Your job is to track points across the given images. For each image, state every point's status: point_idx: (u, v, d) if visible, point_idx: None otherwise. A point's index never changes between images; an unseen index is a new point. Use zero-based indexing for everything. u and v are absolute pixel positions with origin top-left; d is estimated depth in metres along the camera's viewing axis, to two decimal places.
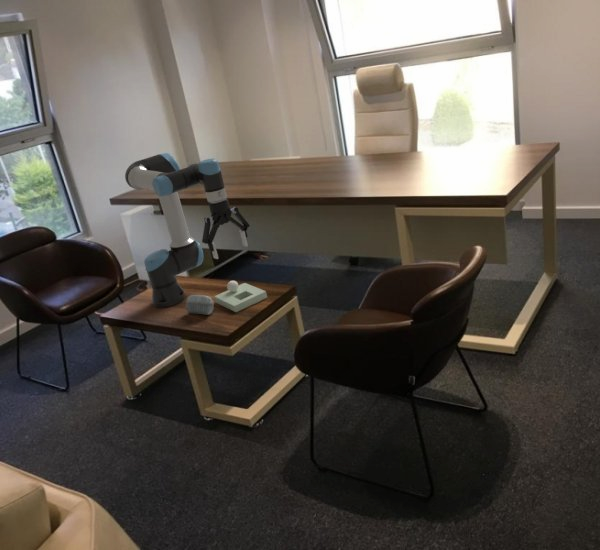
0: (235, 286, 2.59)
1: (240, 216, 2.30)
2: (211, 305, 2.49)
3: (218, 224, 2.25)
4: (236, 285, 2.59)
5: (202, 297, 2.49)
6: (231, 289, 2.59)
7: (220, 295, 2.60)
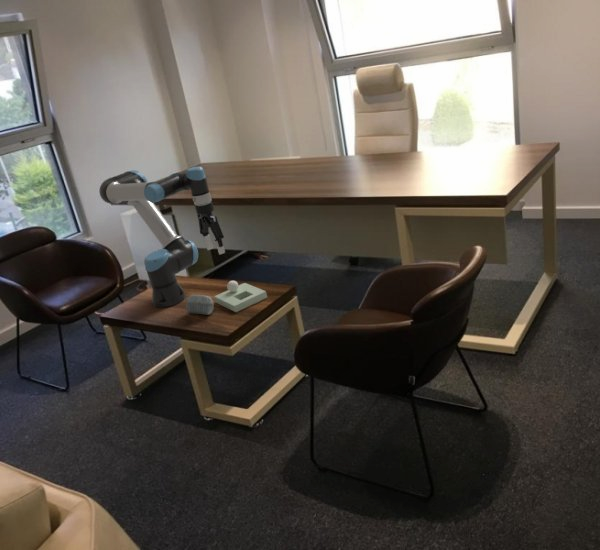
0: (235, 286, 2.59)
1: (213, 226, 2.50)
2: (211, 305, 2.49)
3: (202, 223, 2.57)
4: (236, 285, 2.59)
5: (202, 297, 2.49)
6: (231, 289, 2.59)
7: (220, 295, 2.60)
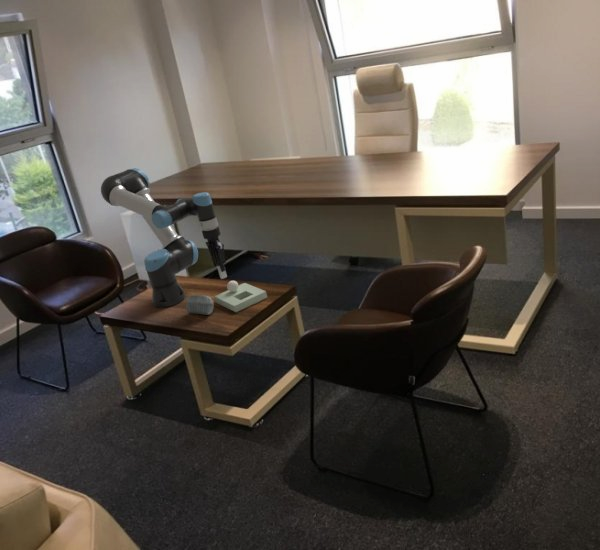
0: (235, 286, 2.59)
1: (218, 253, 2.57)
2: (211, 305, 2.49)
3: (210, 248, 2.61)
4: (236, 285, 2.59)
5: (202, 297, 2.49)
6: (231, 289, 2.59)
7: (220, 295, 2.60)
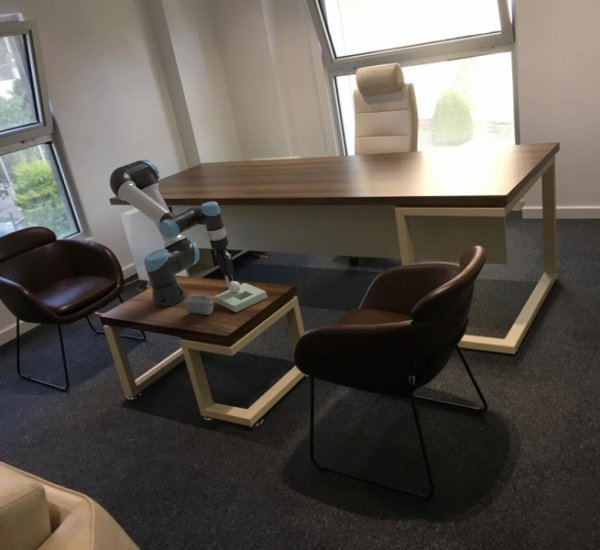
0: (238, 289, 2.58)
1: (226, 263, 2.54)
2: (211, 305, 2.49)
3: (218, 258, 2.58)
4: (239, 289, 2.58)
5: (202, 297, 2.49)
6: (233, 291, 2.58)
7: (220, 295, 2.60)
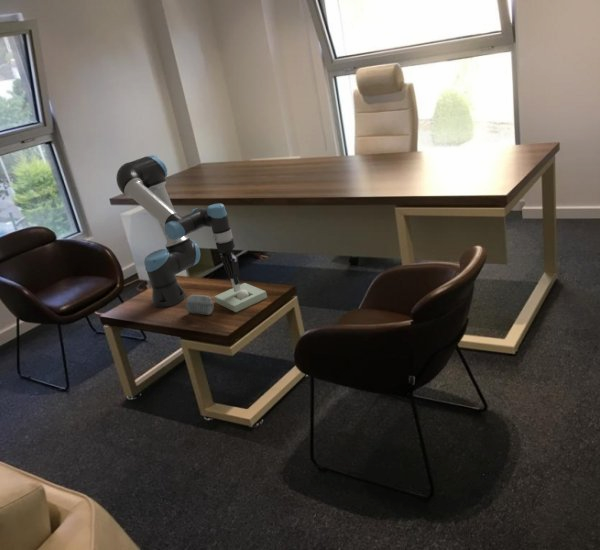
0: None
1: (232, 266, 2.50)
2: (211, 305, 2.49)
3: (224, 261, 2.53)
4: None
5: (202, 297, 2.49)
6: (237, 294, 2.56)
7: (220, 295, 2.60)
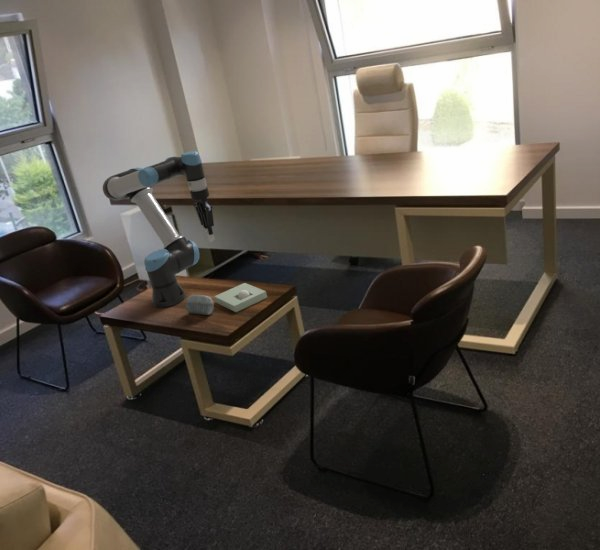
0: None
1: (206, 215, 2.49)
2: (211, 305, 2.49)
3: (198, 210, 2.52)
4: None
5: (202, 297, 2.49)
6: (238, 294, 2.55)
7: (220, 295, 2.60)
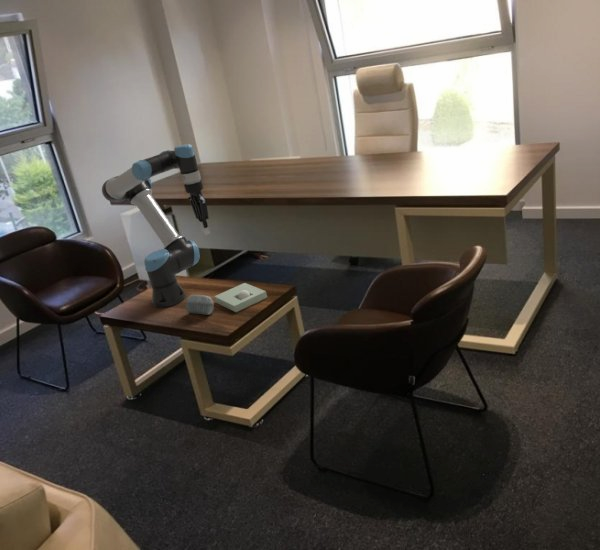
0: None
1: (201, 207, 2.49)
2: (211, 305, 2.49)
3: (193, 203, 2.52)
4: None
5: (202, 297, 2.49)
6: None
7: (220, 295, 2.60)
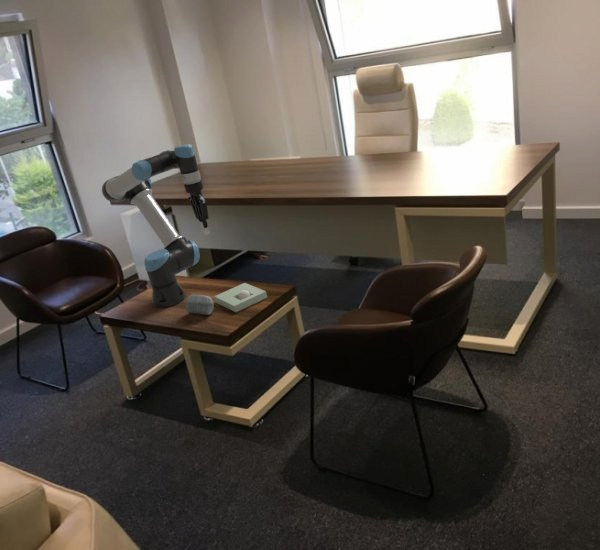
0: None
1: (201, 207, 2.49)
2: (211, 305, 2.49)
3: (193, 203, 2.52)
4: None
5: (202, 297, 2.49)
6: (239, 294, 2.54)
7: (220, 295, 2.60)
